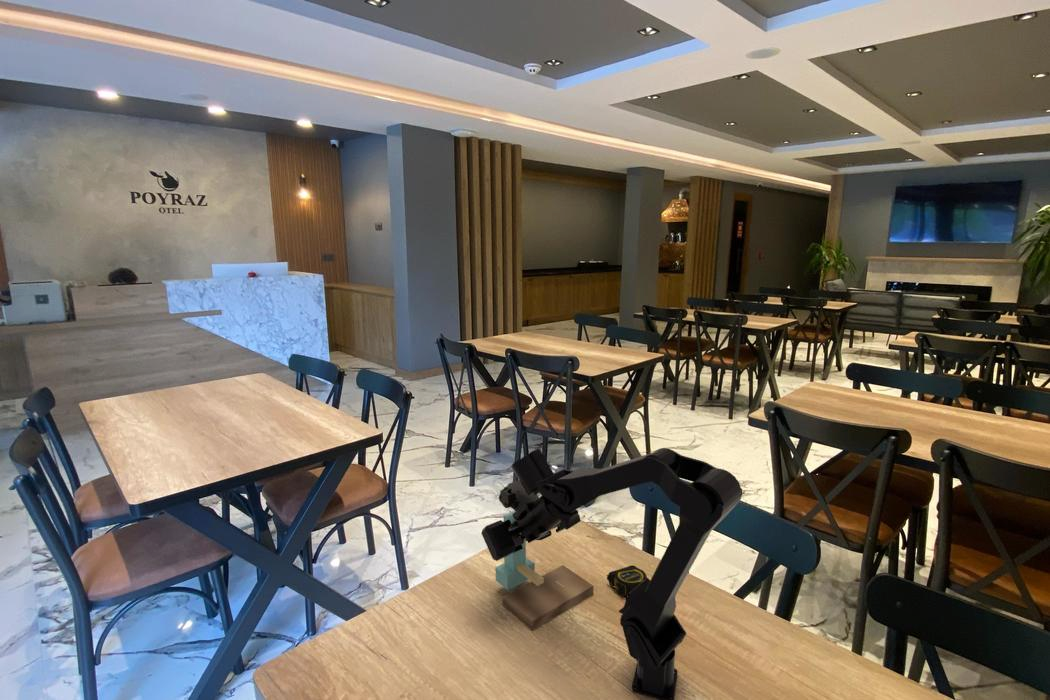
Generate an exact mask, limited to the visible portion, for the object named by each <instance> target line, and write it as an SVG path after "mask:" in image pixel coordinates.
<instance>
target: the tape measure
mask: <svg viewBox="0 0 1050 700" xmlns="http://www.w3.org/2000/svg"><path fill="white" fill-rule="evenodd" d="M646 578H648V576H647V573H646V572H645V571H644V570H643V569H641V568H639V567H637V566H636V565H628V566H625V567H622V568H619V569H616V570H612V571H610V572H608V574H607V575H606V580H607V581H608V584H609V585H610V586H611V587H614V589H615V590H616V591H617V593H618V594H621V595H623V596H625V597H627V596H628V594H629V593H630V592H631V591H632V590H634V589H635V588H636V587H637V586H638V585H639V584H640V583H642V582H643V581H644V580H645V579H646Z"/></svg>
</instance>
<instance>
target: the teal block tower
mask: <svg viewBox="0 0 1050 700" xmlns="http://www.w3.org/2000/svg"><path fill="white" fill-rule="evenodd" d="M514 512H516V511H515V510H513V511H510V512H509V513H506V514H504V515H503V522H504V521H506V520H510V522H511V524H512V523H514V522H517V520H515V519H514V517H513V515H512V514H513V513H514ZM517 528H518V527H517ZM520 535H522V534H520ZM526 542H527V541H526V539H524V543H523V544H522V547H523V549H521V550H519V551H517V552H515V553H512V554H510V555H508V556H506V557H504V558H503V559H504V561H503V563H502V564H499V565H498V566H495V567H494V569H495V582H497V583H498V584H499V585H501V586H502V587H503V588H504V589H505V590H507V591H509V590H511V589H513V588H515V587H517V586H519V585H520V584H522V583H525V582H526V581H528V580H529V581H530V582H531V581H532V582H533V583H534V584H536V585H537V586H539V585H541V584H542V583H544V578H543V577H542V576H543V575H540V574H539V573H538V572H536V569H535V567H536V566H535V565H536V564H535V562H534V561H532V560H531V559H529V558H528V557H527V553H526V552H527V551H526V549H527V548H526V545H527V543H526Z"/></svg>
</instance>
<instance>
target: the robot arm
mask: <svg viewBox="0 0 1050 700" xmlns="http://www.w3.org/2000/svg"><path fill="white" fill-rule="evenodd" d="M510 467H511V469H512V471H513V473H514V474H515V476H516V477H517V479H518V480H515V481H512V482H510V483H508V484H507V485H506V486H504V487H503V489H500V493H499V495H498V500H499V502H500V503H501V505H502V506H503V508H504V509H508V508H511V509H512V510H513V511H516V512H514V513H513V514H512V515H513V517H514V519H515V520H517V522H514V523H512V524H511V522H510V520H506V521H504V520H503V519H502V520H501V519H500V520H497V521H495V522H492V523H490V524H487V525H485V526H484V527H483V528H482V530H481V536H482V538H483V540H484V543H485V545H486V547H487V550H488V552H489V553H490V555H491V558H492V560H494V561H496V562H498V561H500V560H502V559H504V557H506V556H508V555H510V554H512V553H515V552H517V551H519V550H521V549H523V547H522V544H523V543H524V539H526V542H527V544H530V543H532V542H534V541H542V540H545V539H546V538H547V539H548V538H549V537H551V536H552V530H553V529H554V530H555V532H556V533H560V532H563V531H564V530H569V529H570V528H572V527H574V526H576V525H577V524H579V523H580V522H581V516H580V514H579V511H578V509H580V508H581V507H583V506H584V505H587V504H588V503H590V502H592V501H593V500H595V499H597V498H598V497H600V496H605V495H608V494H611V493H615V492H618V491H622V490H626V489H629V488H633V487H637V486H640V485H645V484H647V483H651V482H652V483H654V484H655V485H657V486H659V488H660V489H661V491H662V492H663V493H664V495H666V497H667V498H668V500H669V501H671V502H672V503H673V504H675V505H677V506H678V521H679V522H678V525H677V528H676V530H675V531H674V533H673V535H672V538H671V539H670V541H669V543H668V546H667V547H666V549H665V551H664V553H663V555H662V557H661V559H660V561H659V563H658V565H657V567H656V568H655V571H654V573H653V574H652V576H651V579H650V578H649V577H647V578H646V579H645V580H644V581H643V582H642V583H640V584H639V585H638V586H637V587H636V588H635V589H634V590H632V591H631V592H630V593H629V594H628V596H626V598H625V602H624V606H623V607H621V608H620V609H619V610H618V613H620V614H622V615H620V619H619V623H620V626H621V627H622V630H623V635H624V638H625V641H626V646H627V650H628V653H629V656H630V657H631V658H633V659H634V660H636V662H637V663H636V667H635V671H634V675H633V680H632V685H631V690H632V692H634V693H638V694H641V695H645V696H648V697H652V698H655V699H658V700H675V698H676V697H675V696H676V688H677V680H678V672H679V671H678V670H677V669H676V668H675V660H676V648H677V647H678V646H679V645H681V643H682V642H683V641H684V639H685V638H686V635H687V631H686V630H685V629H684V627H683V626H682V623H680V621H679V620H678V618H677V617H676V615H675V611H676V608H677V601H676V596H677V594H678V592H679V591H680V588H681V586H682V584H683V583H684V581H685V579H686V577H687V575H688V573H689V572H690V570H691V568H692V566H693V565H694V563H695V561H696V559H697V558H698V556H699V554H700V552H701V550H702V549H703V546H704V545H705V544H706V541H707V539H708V538H709V535H710V534H711V532H712V531H713V530H714V529H715V528H717V526H718V525H719V524H720V523H721V522H722V521H723V520H724V519H725V518H726V517H727V516H728V515H729V513H730V512H731V511H732V510H733V509H734V508H735V507H736V506H737V505H738V504H739V503H740V501H741V500H742V497H743V488H742V487H741V484H740V482H739V480H738V479H737V478H736V476H735V475H734V474H732V473H731V472H730V471H728V470H726V469H724V468H717V467H715V466H713V465H711V464H710V463H708V462H707V461H706V462H705V461H703V460H699V459H695V458H692V457H690V456H689V457H688V456H685V455H683V454H680V453H678V452H676V451H674V450H673V449H671V448H667V447H663V448H658V449H656V450H655V451H653V452H651V453H647V454H644V455H641V456H639V457H635V458H632V459H629V460H626V461H623V462H620V463H616V464H614V465H613V464H612V465H610V466H607V467H604V468H595V467H586V468H585V467H583V468H578V469H576V470H573V469H565V468H563V469H561V470H559V471H556V472H554V471H553V469H552V468H551V466H550V465H549V464H548V461H547V460H546V459H545V457H544V454H543V452H542V451H541V449H540V448H535V449H534V450H531V451H530V452H529V453H528V454H527V455H524V456H523V457H522V458H520V459H518V460H516V461H514V462H513V463H512V465H511V466H510ZM682 479H683V480H682ZM684 480H685V481H684ZM686 481H690V482H691V483H690V484H689V483H687V482H686ZM539 494H540V497H539ZM517 527H518V528H517ZM520 534H522V535H520Z"/></svg>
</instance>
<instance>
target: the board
mask: <svg viewBox="0 0 1050 700" xmlns="http://www.w3.org/2000/svg"><path fill="white" fill-rule="evenodd" d="M541 576H542V577H543V578H544V583H542V584H541V585H539V586H537V585H536V584H534V583H533V582H532V581H530V582H528V583H526V584H524V585H522V586H520V587H518V588H516V589H514V590H512V591H510V592H508V593H507V594H504V595H502V605H503V607H504V608H506V610H508V611H509V612H510V613H511V614H513V616H515V617H516V618H517V619H518V620H519V621H520V622H521V623H522V624H524V625H525V626H526V627H527V628H528V629H529V630H530V631H532V632H533V631H534V630H535V629H536V630H537V629H538V628H540V627H542V626H543V625H545V624H547V623H548V622H550V621H551V620H553V619H554V618H556V617H558V616H560V615H561V614H563V613H565V612H566V611H568V610H570V609H571V608H574V607H575V606H576V605H578V604H579V603H581V602H583V601H585V600H586V599H587V600H588V598H590V597H591V596H593V595H594V587H595V586H594V585H593V584H591V583H590V582H589V581H587V580H586V579H584V578H583V577H582V576H580V575H579V574H577V573H576V572H574V571H573V570H571V569H570V568H568V567H566V566H565V565H560V566H559V567H557V568H554V569H553V570H551V571H549V572H547V573H545V574H543V575H541Z"/></svg>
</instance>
